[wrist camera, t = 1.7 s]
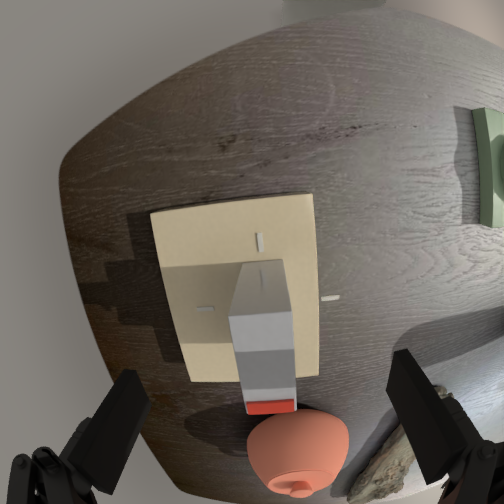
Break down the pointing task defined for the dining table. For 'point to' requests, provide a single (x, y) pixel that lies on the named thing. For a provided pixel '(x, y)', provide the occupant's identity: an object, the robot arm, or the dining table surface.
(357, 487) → the long grey stone
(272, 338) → the tap handle
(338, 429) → the sugar bowl
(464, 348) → the dining table surface
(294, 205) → the base
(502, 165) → the button box
